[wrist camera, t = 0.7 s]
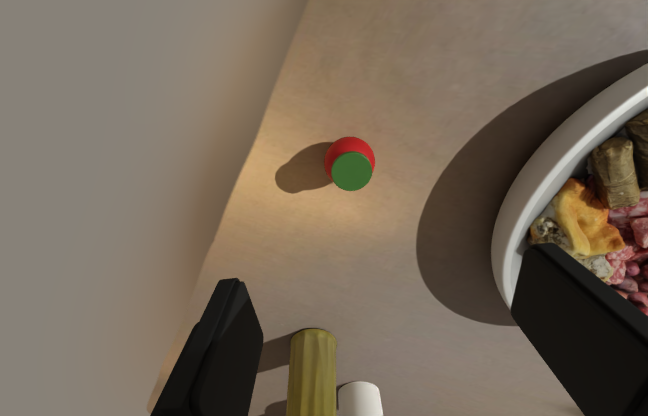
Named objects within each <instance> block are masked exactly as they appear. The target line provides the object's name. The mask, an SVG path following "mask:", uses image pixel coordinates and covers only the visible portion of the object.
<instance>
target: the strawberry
mask: <svg viewBox="0 0 648 416" xmlns="http://www.w3.org/2000/svg"><path fill="white" fill-rule="evenodd" d="M324 166H325V171H326V173H327V175H328V177H329V178H330V179H331V180H332V181H333V182H334V183H335V184H336V185H337V186H338V187H339V188H341V189H343V190H347V191H355V190H358V189H361V188H362V187H364V186H365V185H366V184H367V183H368V182H369V180H370V178H371V176H372V173H373V170H374V166H375V158H374V154H373V151H372V149H371V148H370V146H369V145H368V144H367V143H366V142H364V141H363V140H361V139H359V138H356V137H344V138H341V139H339V140H337V141H335V142H334V143H333V144H332V145H331V146H330V147H329V149H328V150H327V152H326V155H325V159H324Z"/></svg>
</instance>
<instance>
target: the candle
mask: <svg viewBox="0 0 648 416" xmlns="http://www.w3.org/2000/svg"><path fill="white" fill-rule="evenodd" d="M338 401H339V416H383V411H382V405H381V399H380V393H379V389H378V387H376V386H375V385H374V384H372V383H369V382H363V381H358V382H351V383H348V384H345V385H344V386H342V387H341V388H340V389H339V392H338Z"/></svg>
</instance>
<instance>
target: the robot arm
mask: <svg viewBox="0 0 648 416" xmlns="http://www.w3.org/2000/svg"><path fill="white" fill-rule="evenodd" d="M510 310H511V315H512V317H513V319H514V320H515V322H516V323H517V324H518V326H519V327H520V328H521V330H522V331H523V333H524V334H525V335H526V337H527V338H528V339H529V341H530V342H531V343H532V345H533V346H534V347H535V349H536V350H537V351H538V353H539V354H540V356H541V357H542V358H543V360H544V361H545V362H546V364H547V365H548V366H549V368H550V369H551V370H552V372H553V373H554V375H555V376H556V377H557V379H558V380H559V381H560V383H561V384H562V385H563V387H564V388H565V389H566V391H567V392H568V393H569V395H570V396H571V398H572V399H573V400H574V402H575V403H576V404H577V406H578V407H579V408H580V410H581V411H582V412H583V414H584V415H585V416H648V316H647V315H646V314H645V313H643V312H642V311H641V310H639V309H638V308H637V307H636V306H634V305H633V304H632V303H631V302H629V301H628V300H627V299H625V298H624V297H623V296H622V295H620V294H619V293H618V292H617V291H615V290H614V289H613V288H611V287H610V286H609V285H608V284H606V283H605V282H604V281H602V280H601V279H600V278H599V277H597V276H596V275H595V274H594V273H592V272H591V271H590V270H588V269H587V268H586V267H585V266H583V265H582V264H581V263H580V262H578V261H577V260H576V259H574V258H573V257H572V256H571V255H569V254H568V253H567V252H566V251H564V250H563V249H562V248H560V247H559V246H558V245H556V244H555V243H551V242H549V243H541V244H533V245H530V246H529V248H528V250H525V251H524V254H523V258H522V262H521V266H520V270H519V274H518V279H517V283H516V287H515V291H514V295H513V299H512V304H511V309H510ZM262 346H263V332H262V329H261V327H260V324H259V321H258V318H257V316H256V313H255V310H254V307H253V305H252V302H251V299H250V296H249V294H248V291H247V288H246V286H245V283H244V282H240V281H239V279H238V278H232V279H223V280H220V281H219V282H218V284H217V286H216V288H215V290H214V292H213V294H212V296H211V298H210V301H209V303H208V305H207V307H206V309H205V311H204V313H203V315H202V317H201V320H200V322H198V323H197V324H196V325H195V326H194V328H193V329H192V331H191V333H190V335H189V338H188V340H187V342H186V344H185V346H184V348H183V350H182V352H181V354H180V356H179V358H178V360H177V362H176V364H175V366H174V368H173V370H172V372H171V374H170V376H169V379H168V381H167V383H166V385H165V387H164V389H163V391H162V393H161V395H160V397H159V399H158V401H157V403H156V405H155V407H154V409H153V411H152V413H151V415H150V416H248V412H249V407H250V403H251V398H252V393H253V389H254V384H255V379H256V374H257V370H258V365H259V360H260V356H261V351H262Z"/></svg>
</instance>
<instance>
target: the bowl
mask: <svg viewBox="0 0 648 416" xmlns="http://www.w3.org/2000/svg"><path fill="white" fill-rule="evenodd" d="M549 242H551V243H555V244H556V245H558V246H559V247H560V248H562V249H563V250H564V251H566V252H567V253H568V254H569V255H571V256H572V257H573V258H574V259H576V260H577V261H578V262H580V263H581V264H582V265H583V266H585V267H586V268H587V269H588V270H590V271H591V272H592V273H594V274H595V275H596V276H597V277H599V278H600V279H601V280H602V281H604V282H605V283H606V284H608V285H609V286H610V287H611V288H613V289H614V290H615V291H617V292H618V293H619V294H620V295H622V296H623V297H624V298H625V299H627V300H628V301H629V302H631V303H632V304H633V305H634V306H636V307H637V308H638V309H639V310H641V311H642V312H643V313H645V314H646V315H647V316H648V63H647V64H645V65H643V66H642V67H640V68H638V69H636V70H634V71H633V72H631V73H629V74H628V75H626V76H624V77H623V78H621V79H620V80H618V81H616V82H615V83H613V84H612V85H610V86H609V87H607V88H606V89H605V90H603V91H602V92H600V93H599V94H598V95H596V96H595V97H594V98H592V99H591V100H589V101H588V102H587V103H586V104H584V105H583V106H582V107H581V108H579V109H578V110H577V111H576V112H574V113H573V114H572V115H571V116H570V117H569V118H568V119H566V120H565V121H564V122H563V123H562V124H561V125H560V126H559V127H558V128H557V129H556V130H555V131H554V132H553V133H552V134H551V135H550V136H549V137H548V138H547V139H546V140H545V141H544V142H543V143H542V144H541V146H540V147H539V148H538V149H537V150H536V151H535V152H534V154H533V155H532V156H531V157H530V159H529V160H528V161H527V163H526V164H525V165H524V167H523V168H522V170H521V171H520V172H519V174H518V176H517V177H516V179H515V180H514V182H513V184H512V185H511V187H510V189H509V191H508V193H507V195H506V197H505V199H504V201H503V203H502V205H501V208H500V210H499V213H498V216H497V219H496V222H495V226H494V231H493V236H492V244H491V263H492V270H493V275H494V279H495V282H496V285H497V287H498V290H499V292H500V294H501V296H502V298H503V300H504V302H505V303H506V305H507V306H508V308H509V309H511V304H512V299H513V295H514V291H515V287H516V283H517V279H518V274H519V270H520V266H521V262H522V258H523V254H524V251H525V250H528V248H529V246H530V245H533V244H541V243H549Z"/></svg>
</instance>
